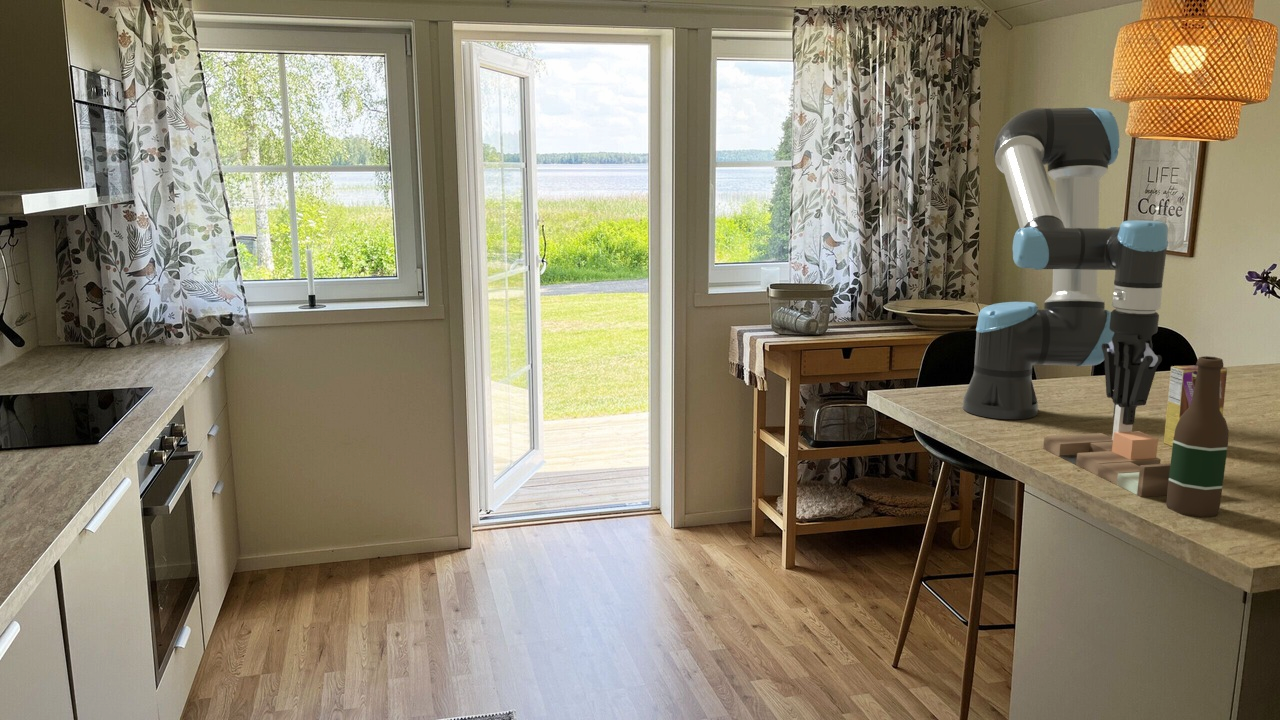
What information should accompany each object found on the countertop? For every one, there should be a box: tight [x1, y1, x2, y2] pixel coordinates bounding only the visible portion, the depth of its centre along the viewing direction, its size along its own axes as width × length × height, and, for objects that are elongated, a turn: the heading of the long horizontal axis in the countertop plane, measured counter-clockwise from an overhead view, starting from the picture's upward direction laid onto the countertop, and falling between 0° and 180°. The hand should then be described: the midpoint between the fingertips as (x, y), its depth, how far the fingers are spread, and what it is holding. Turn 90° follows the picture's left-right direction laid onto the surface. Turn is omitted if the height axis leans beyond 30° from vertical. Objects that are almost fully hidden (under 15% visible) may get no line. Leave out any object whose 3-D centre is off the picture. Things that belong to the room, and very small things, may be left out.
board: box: [1043, 432, 1171, 498], centre depth 170 cm, size 27×12×5 cm, turn 11°
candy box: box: [1163, 364, 1228, 448], centre depth 184 cm, size 9×4×15 cm, turn 96°
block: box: [1112, 430, 1159, 460], centre depth 171 cm, size 5×5×4 cm
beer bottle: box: [1166, 355, 1229, 518], centre depth 149 cm, size 8×8×24 cm
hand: (1121, 440), depth 174 cm, fingers closed
